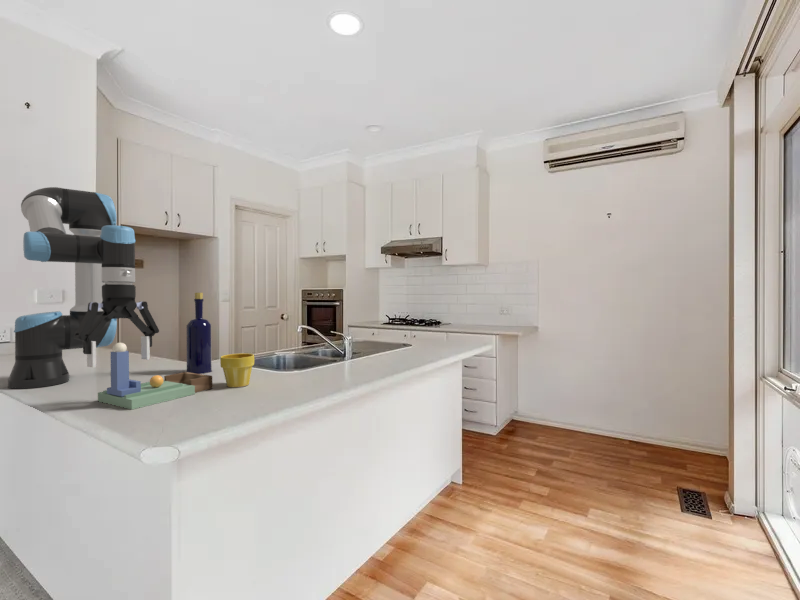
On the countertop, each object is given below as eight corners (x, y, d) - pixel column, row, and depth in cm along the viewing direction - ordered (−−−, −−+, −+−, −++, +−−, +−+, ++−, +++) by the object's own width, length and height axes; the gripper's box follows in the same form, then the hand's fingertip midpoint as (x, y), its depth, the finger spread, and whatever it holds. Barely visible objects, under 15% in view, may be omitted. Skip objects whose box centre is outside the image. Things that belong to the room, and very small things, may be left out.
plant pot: (213, 386, 131) (213, 356, 131) (239, 380, 140) (239, 352, 140) (235, 390, 127) (235, 359, 126) (261, 383, 136) (261, 354, 135)
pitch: (97, 401, 113) (97, 389, 113) (161, 388, 129) (161, 377, 129) (131, 409, 106) (131, 396, 106) (194, 394, 122) (194, 383, 122)
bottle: (205, 374, 151) (204, 292, 150) (180, 374, 151) (180, 292, 151) (217, 369, 160) (216, 292, 160) (193, 369, 160) (193, 292, 160)
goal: (164, 388, 129) (164, 375, 129) (185, 384, 135) (185, 371, 135) (191, 393, 123) (191, 380, 123) (212, 388, 129) (212, 375, 129)
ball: (147, 387, 119) (146, 375, 119) (158, 385, 122) (158, 373, 122) (154, 389, 118) (154, 377, 117) (166, 386, 121) (166, 374, 121)
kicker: (106, 393, 111) (105, 342, 111) (127, 389, 116) (126, 340, 116) (121, 396, 108) (120, 344, 108) (141, 392, 113) (141, 341, 112)
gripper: (71, 282, 98) (73, 371, 98) (171, 284, 120) (172, 357, 120) (56, 283, 101) (57, 369, 101) (156, 285, 123) (157, 355, 123)
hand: (120, 362), depth 111 cm, fingers open, 13 cm apart
